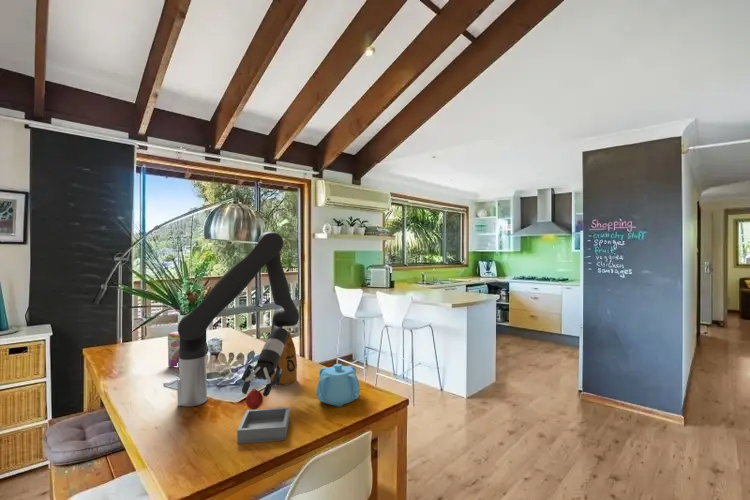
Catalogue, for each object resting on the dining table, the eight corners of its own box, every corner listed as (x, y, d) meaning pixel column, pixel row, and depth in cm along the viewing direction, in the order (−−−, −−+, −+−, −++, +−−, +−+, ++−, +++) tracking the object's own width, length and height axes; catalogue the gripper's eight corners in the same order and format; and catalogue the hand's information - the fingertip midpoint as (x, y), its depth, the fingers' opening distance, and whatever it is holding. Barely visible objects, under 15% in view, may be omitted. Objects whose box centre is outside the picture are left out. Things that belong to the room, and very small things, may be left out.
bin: (237, 443, 113) (237, 430, 113) (246, 422, 127) (246, 410, 127) (285, 440, 115) (285, 426, 115) (289, 419, 129) (289, 407, 129)
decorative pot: (359, 409, 136) (359, 371, 136) (313, 410, 136) (313, 372, 135) (360, 392, 152) (360, 358, 152) (319, 392, 152) (319, 358, 152)
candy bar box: (167, 367, 185) (167, 333, 184) (176, 364, 189) (175, 331, 189) (185, 369, 181) (185, 335, 181) (193, 366, 186) (193, 332, 185)
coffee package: (282, 387, 157) (282, 334, 156) (263, 381, 164) (263, 330, 164) (301, 380, 165) (300, 330, 164) (282, 375, 172) (281, 326, 172)
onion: (248, 407, 138) (247, 385, 138) (264, 406, 139) (264, 384, 139) (244, 414, 133) (243, 391, 133) (260, 413, 133) (260, 390, 133)
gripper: (251, 347, 146) (232, 387, 135) (284, 349, 142) (267, 391, 131) (259, 356, 151) (241, 396, 140) (291, 359, 147) (276, 401, 136)
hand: (254, 394), depth 136 cm, fingers open, 8 cm apart
